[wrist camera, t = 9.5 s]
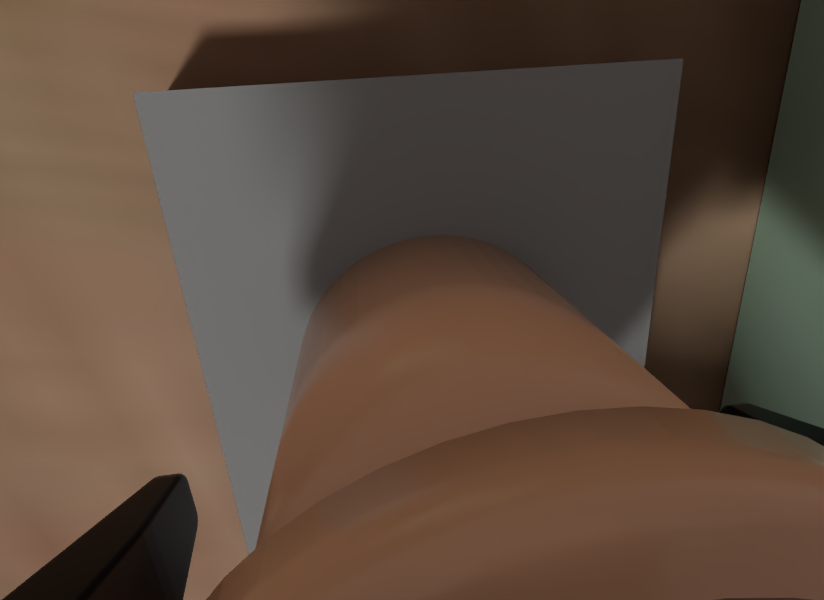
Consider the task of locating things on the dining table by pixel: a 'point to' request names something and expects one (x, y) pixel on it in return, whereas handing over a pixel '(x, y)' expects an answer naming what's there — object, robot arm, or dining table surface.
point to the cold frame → (788, 250)
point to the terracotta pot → (513, 456)
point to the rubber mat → (398, 207)
